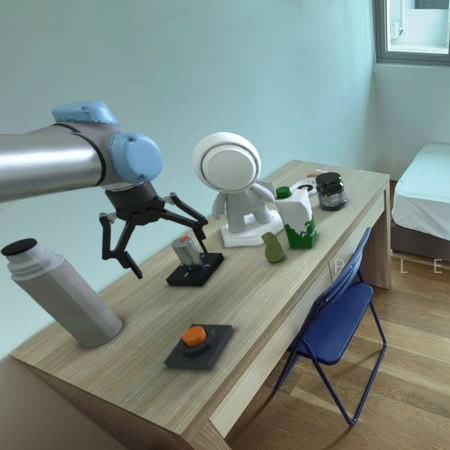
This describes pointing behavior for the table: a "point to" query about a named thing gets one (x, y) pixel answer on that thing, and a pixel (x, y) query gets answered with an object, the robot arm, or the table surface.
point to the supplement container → (330, 191)
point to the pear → (272, 247)
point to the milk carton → (296, 216)
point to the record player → (308, 182)
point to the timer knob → (187, 253)
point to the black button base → (201, 349)
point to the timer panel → (196, 271)
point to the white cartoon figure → (236, 188)
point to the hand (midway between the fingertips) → (174, 262)
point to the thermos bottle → (61, 292)
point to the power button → (194, 336)
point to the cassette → (267, 186)
